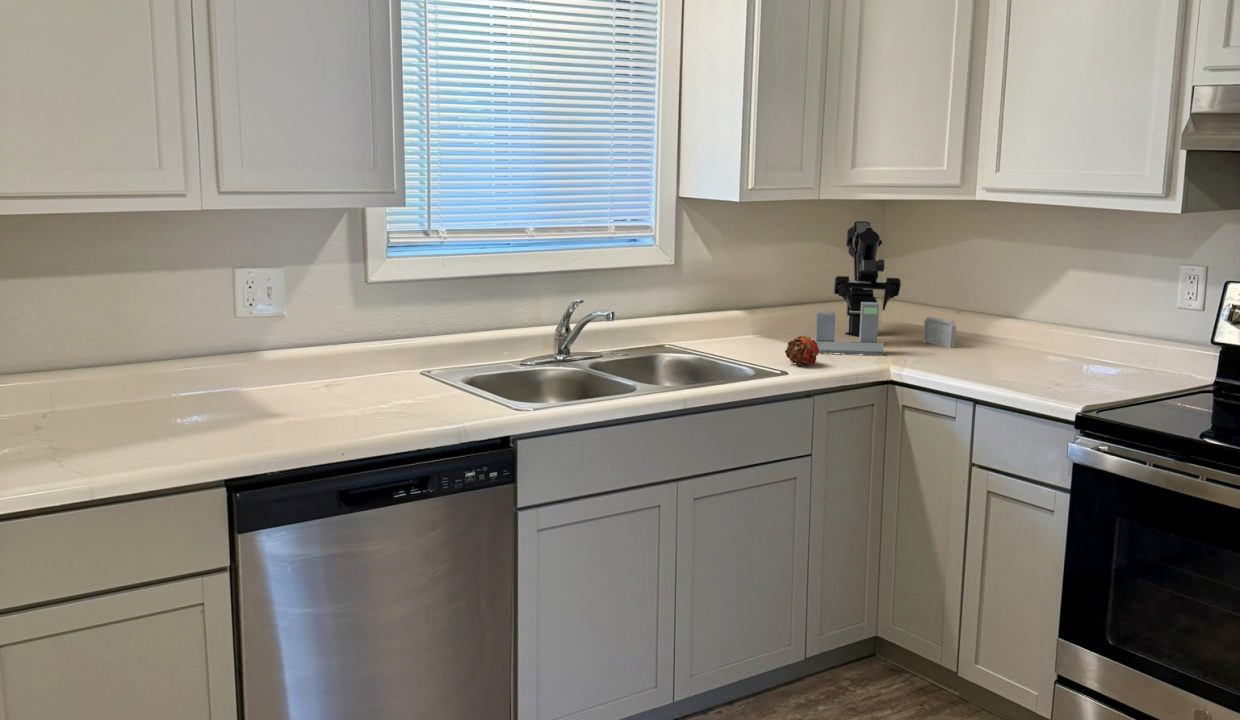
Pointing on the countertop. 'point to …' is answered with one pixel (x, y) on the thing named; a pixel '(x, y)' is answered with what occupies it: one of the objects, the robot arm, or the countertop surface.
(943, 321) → the light switch
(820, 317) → the rail
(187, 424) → the countertop surface
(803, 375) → the countertop surface
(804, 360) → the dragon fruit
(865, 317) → the block
